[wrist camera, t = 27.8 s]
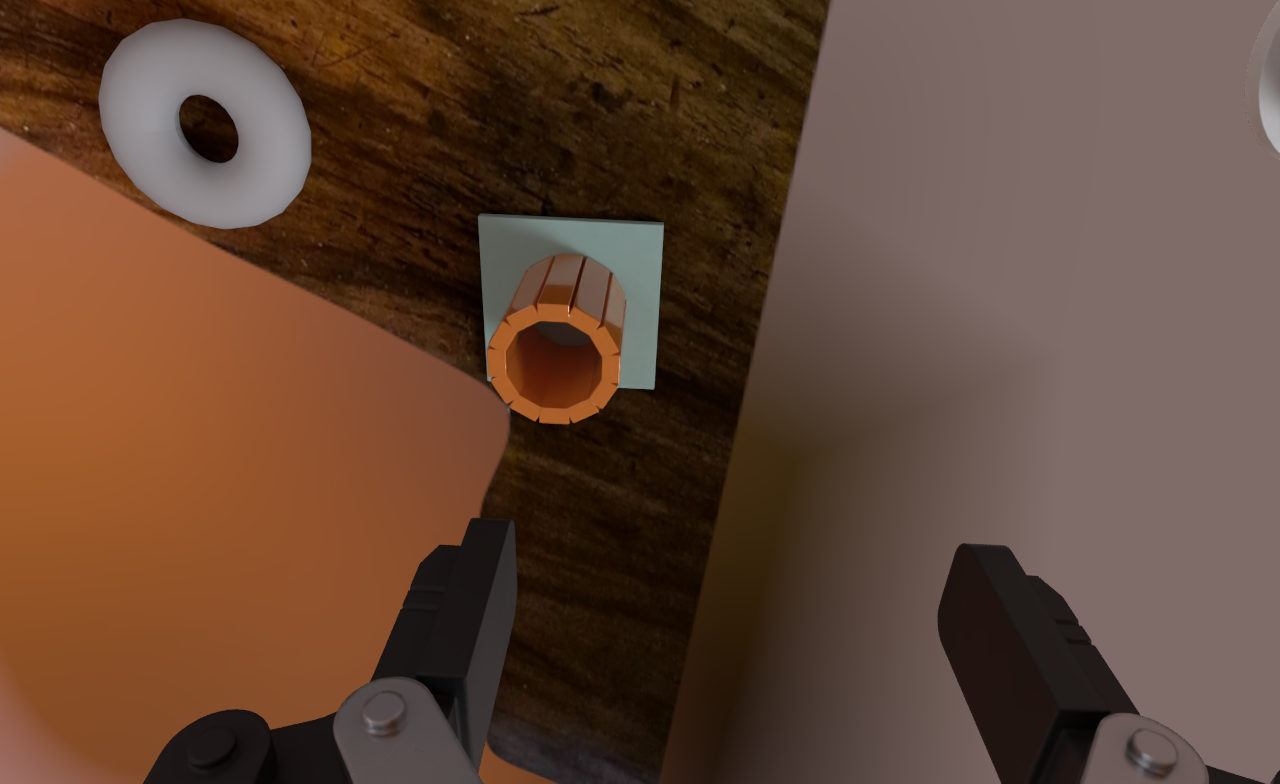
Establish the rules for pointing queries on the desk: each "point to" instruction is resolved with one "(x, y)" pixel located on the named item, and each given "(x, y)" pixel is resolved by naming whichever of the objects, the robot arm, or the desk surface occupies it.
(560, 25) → the desk surface
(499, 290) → the mat
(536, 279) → the pen holder
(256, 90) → the donut
